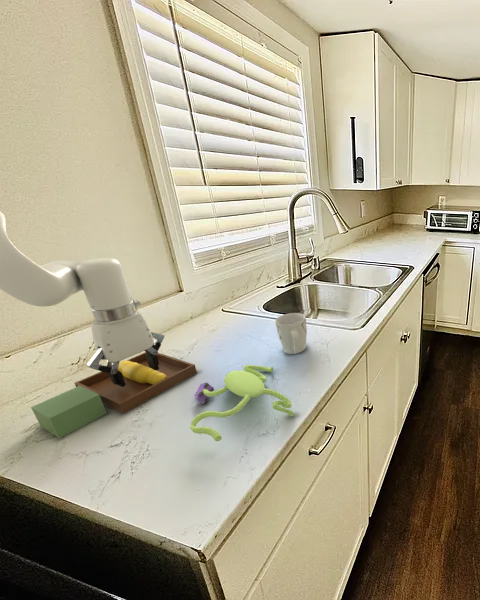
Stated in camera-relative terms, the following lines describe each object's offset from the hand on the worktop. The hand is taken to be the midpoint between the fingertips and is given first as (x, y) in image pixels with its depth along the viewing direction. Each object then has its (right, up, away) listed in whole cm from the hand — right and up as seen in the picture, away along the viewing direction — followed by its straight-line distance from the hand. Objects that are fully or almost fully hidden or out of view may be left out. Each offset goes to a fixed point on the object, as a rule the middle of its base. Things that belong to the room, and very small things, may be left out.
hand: (138, 376), depth 82 cm
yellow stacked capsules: (0, -1, 0) cm, 1 cm away
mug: (+35, +4, +14) cm, 38 cm away
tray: (0, -2, +1) cm, 2 cm away
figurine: (+31, -5, -8) cm, 32 cm away
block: (-4, -7, -12) cm, 14 cm away
